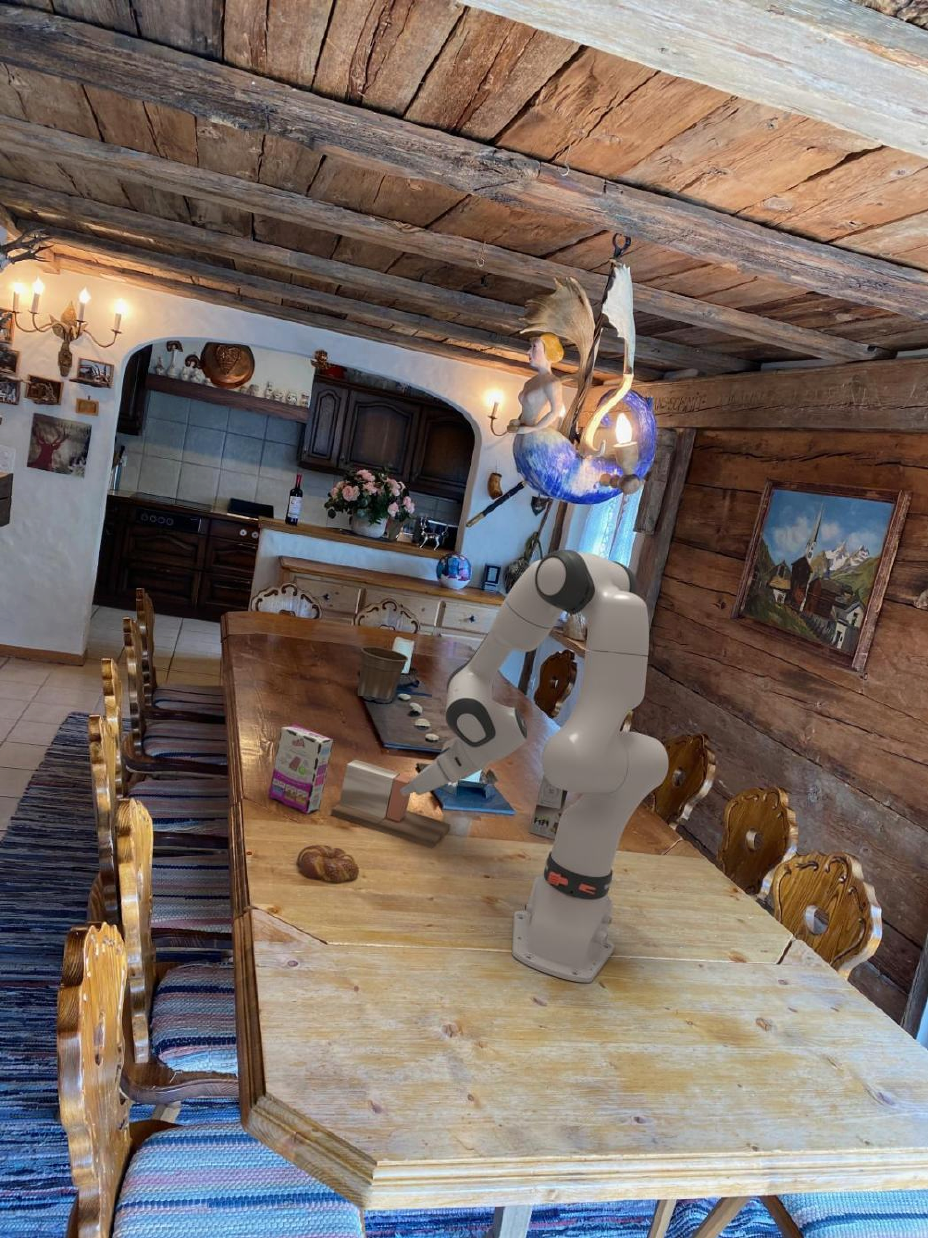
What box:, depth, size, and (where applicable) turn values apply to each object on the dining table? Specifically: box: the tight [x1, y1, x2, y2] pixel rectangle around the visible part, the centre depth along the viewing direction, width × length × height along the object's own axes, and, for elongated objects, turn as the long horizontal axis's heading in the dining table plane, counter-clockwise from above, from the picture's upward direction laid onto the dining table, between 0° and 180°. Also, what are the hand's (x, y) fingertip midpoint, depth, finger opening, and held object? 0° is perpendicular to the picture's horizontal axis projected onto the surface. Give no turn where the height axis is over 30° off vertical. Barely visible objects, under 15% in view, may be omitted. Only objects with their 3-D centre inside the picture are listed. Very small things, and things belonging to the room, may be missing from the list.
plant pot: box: [356, 646, 409, 699], centre depth 290 cm, size 16×16×16 cm
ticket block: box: [330, 759, 451, 850], centre depth 190 cm, size 12×24×11 cm, turn 74°
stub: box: [386, 773, 415, 822], centre depth 189 cm, size 4×3×9 cm, turn 164°
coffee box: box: [529, 774, 569, 841], centre depth 205 cm, size 9×6×16 cm
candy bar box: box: [268, 724, 334, 814], centre depth 188 cm, size 11×5×16 cm, turn 62°
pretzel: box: [296, 844, 360, 883], centre depth 162 cm, size 12×11×4 cm
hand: (409, 786), depth 189 cm, fingers open, 8 cm apart
